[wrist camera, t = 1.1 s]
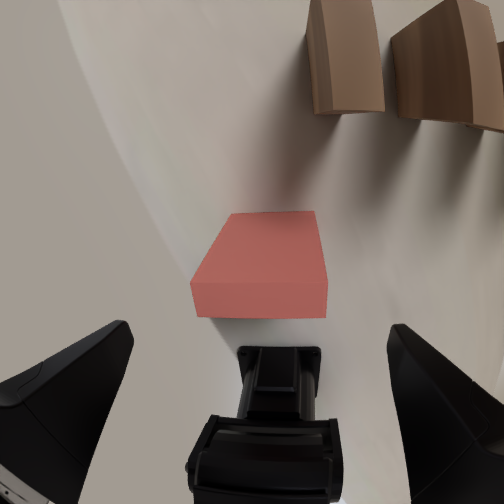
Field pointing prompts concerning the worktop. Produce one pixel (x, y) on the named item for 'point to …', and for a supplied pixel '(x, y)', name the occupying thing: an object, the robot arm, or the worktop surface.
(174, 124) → the worktop surface
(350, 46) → the domino
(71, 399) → the robot arm
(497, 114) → the domino
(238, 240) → the domino
